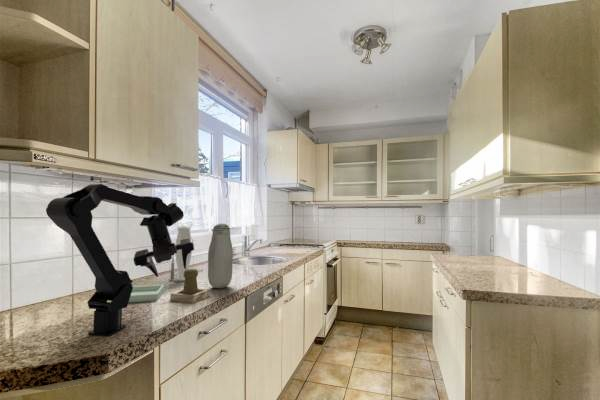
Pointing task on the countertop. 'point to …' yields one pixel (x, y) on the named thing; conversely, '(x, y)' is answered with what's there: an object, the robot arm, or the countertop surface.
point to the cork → (190, 282)
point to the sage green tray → (146, 293)
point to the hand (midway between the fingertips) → (171, 272)
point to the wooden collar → (189, 296)
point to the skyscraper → (182, 234)
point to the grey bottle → (220, 257)
